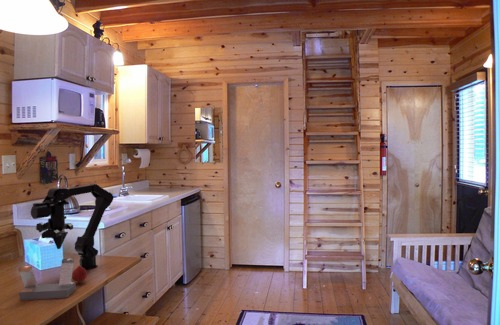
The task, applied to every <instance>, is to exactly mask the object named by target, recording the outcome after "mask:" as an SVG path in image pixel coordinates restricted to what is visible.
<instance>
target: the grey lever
mask: <svg viewBox="0 0 500 325" xmlns="http://www.w3.org/2000/svg"><path fill="white" fill-rule="evenodd" d="M74 260H75V259H74V258H63V259H62V260H61V266H60V274H59V282H58V283H59V285H67V284H71V282H72V280H73V278H72V273H73V271H74V269H73V268H74V262H75V261H74Z"/></svg>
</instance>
